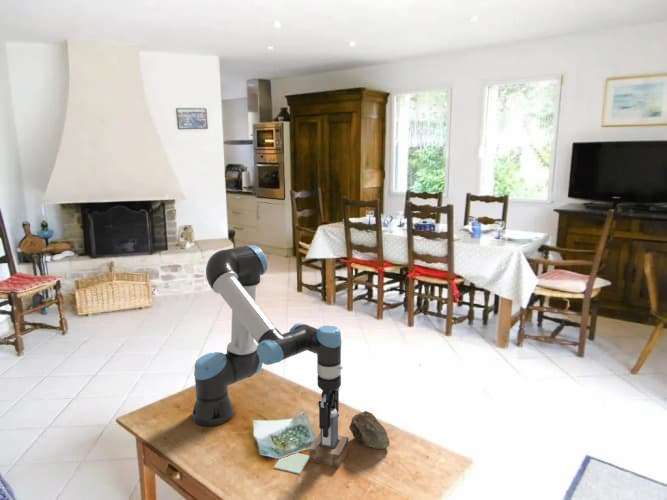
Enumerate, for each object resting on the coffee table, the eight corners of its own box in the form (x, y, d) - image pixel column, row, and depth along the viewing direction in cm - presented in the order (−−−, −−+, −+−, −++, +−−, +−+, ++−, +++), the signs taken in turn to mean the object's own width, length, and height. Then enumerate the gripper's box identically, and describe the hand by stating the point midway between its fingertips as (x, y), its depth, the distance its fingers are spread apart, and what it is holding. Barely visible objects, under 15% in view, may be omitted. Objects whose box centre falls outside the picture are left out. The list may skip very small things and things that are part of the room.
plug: (319, 458, 155) (319, 413, 152) (324, 449, 160) (324, 406, 157) (334, 461, 154) (334, 416, 150) (338, 452, 158) (339, 408, 155)
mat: (273, 468, 150) (273, 466, 150) (285, 451, 159) (285, 450, 159) (299, 474, 147) (299, 473, 147) (310, 457, 156) (310, 455, 156)
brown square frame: (309, 461, 154) (309, 448, 153) (320, 443, 163) (320, 431, 162) (338, 467, 150) (338, 455, 150) (348, 449, 160) (348, 437, 159)
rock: (404, 426, 160) (370, 395, 162) (397, 441, 154) (362, 410, 156) (381, 445, 168) (349, 416, 170) (373, 460, 162) (340, 430, 164)
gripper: (330, 389, 141) (331, 458, 146) (348, 364, 158) (348, 427, 162) (307, 385, 144) (308, 453, 149) (327, 361, 160) (327, 423, 165)
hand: (329, 439), depth 156 cm, fingers closed on plug, 4 cm apart
